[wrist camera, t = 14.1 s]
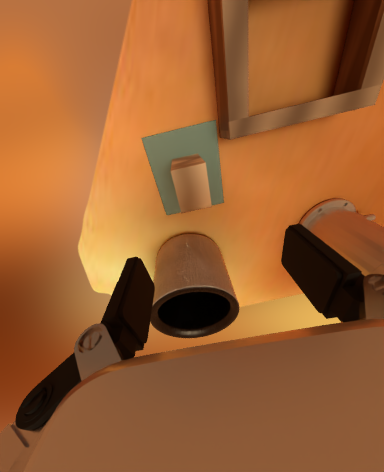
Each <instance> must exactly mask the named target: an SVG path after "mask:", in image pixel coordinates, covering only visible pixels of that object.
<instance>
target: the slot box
mask: <svg viewBox="0 0 384 472" xmlns="http://www.w3.org/2000/svg"><path fill="white" fill-rule="evenodd" d="M208 9H209V20H210V31H211V43H212V54H213V65H214V76H215V87H216V98H217V110H218V121H219V132H220V138H225V139H235V138H239V137H243V136H247V135H251V134H255V133H260V132H264V131H268V130H272V129H276V128H280V127H285V126H289V125H293V124H297V123H301V122H305V121H310V120H314V119H318V118H322V117H326V116H330V115H334V114H339V113H343V112H347V111H351V110H355V109H359V108H364V107H368V106H372V105H375V103H376V100H377V97H378V94H379V91H380V88H381V85H382V83H383V80H384V0H355V1H354V5H353V10H352V14H351V19H350V23H349V28H348V32H347V37H346V41H345V46H344V50H343V54H342V59H341V63H340V68H339V72H338V77H337V81H336V86H335V90H334V95H333V96H331V97H327V98H323V99H319V100H315V101H311V102H307V103H303V104H299V105H295V106H291V107H287V108H283V109H278V110H274V111H270V112H266V113H262V114H258V115H254V116H250V117H249V110H248V0H208Z"/></svg>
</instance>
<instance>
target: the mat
mask: <svg viewBox="0 0 384 472" xmlns="http://www.w3.org/2000/svg"><path fill="white" fill-rule="evenodd" d="M142 141H143V144H144V147H145V150H146V153H147V157H148V160H149V163H150V166H151V169H152V172H153V175H154V178H155V181H156V184H157V187H158V190H159V193H160V196H161V199H162V202H163V206H164V209H165V212H166V215H171V214H176V213H180V212H181V210H180V206H179V202H178V198H177V194H176V190H175V186H174V182H173V178H172V175H171V163H172V159H176V158H180V157H184V156H189V155H193V154H197V153H198V154H199V156H200V157H201V158H202V159H203V160H204V161H205V162H206V168H207V176H208V183H209V190H210V198H211V205H216V204H220V203H224V200H223V189H222V179H221V169H220V159H219V148H218V138H217V128H216V120H213V121H209V122H205V123H201V124H197V125H193V126H189V127H185V128H181V129H177V130H173V131H169V132H165V133H161V134H156V135H152V136H148V137H144V138H142Z"/></svg>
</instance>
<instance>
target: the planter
mask: <svg viewBox="0 0 384 472" xmlns="http://www.w3.org/2000/svg"><path fill="white" fill-rule="evenodd" d="M153 283H154V286H155V293H154V299H153V306H152V312H151V319H150V322H151V324H152V325H153V326H154V327H155V328H156V329H157V330H158V331H160V332H162V333H164V334H166V335H169V336H173V337H179V338H197V337H203V336H208V335H211V334H214V333H217V332H219V331H221V330H223V329H225V328H226V327H227V326H229V325H230V324H231V323H232V322H233V321H234V320H235V319H236V317H237V315H238V313H239V303H238V300H237V298H236V295H235V292H234V289H233V286H232V283H231V280H230V277H229V275H228V272H227V269H226V266H225V263H224V260H223V257H222V254H221V251H220V249H219V247H218V246H217V245H216V243H215V242H214V241H212V240H211V239H209V238H208V237H205V236H202V235H198V234H184V235H179V236H176V237H174V238H172V239H170V240H168V241H167V242H166V243H165V244H164V245H163V246H162V247H161V248H160V250H159V252H158V255H157V258H156V266H155V274H154V282H153Z"/></svg>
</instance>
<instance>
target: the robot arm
mask: <svg viewBox="0 0 384 472" xmlns="http://www.w3.org/2000/svg"><path fill="white" fill-rule="evenodd" d="M374 219H375V215H374V214H369V215H365V216H363V215H361V214H359V213H357V212H356V209H355V206H354V205H353V204H352V203H351V202H349V201H347V200H345V199H340V198H338V199H330V200H327V201H324V202H322V203H320V204H318V205H316V206H315V207H313V208H312V209H311V210H310V211H309V212H307V213H306V215H305V216H304V217H303V218H302V220H301V221H300V223H299V224H295V225H290V226H289V227H288V228H287V229H286V231H285V238H284V245H283V252H282V259H281V262H282V265H283V266H284V268H285V269H286V270H287V272H288V273H289V274H290V276H291V277H292V278H293V280H294V281H295V282H296V284H297V285H298V286H299V287H300V289H301V290H302V291H303V293H304V294H305V295H306V297H307V298H308V299H309V300H310V302H311V303H312V305H313V306H314V307H315V308H316V310H317V311H318V312H319V313H322V314H323V315H324V316H325V317H326V319H328V318H334V317H338V319H339V320H340V321H341V323H336V324H329V325H322V326H316V327H310V328H303V329H298V330H291V331H285V332H279V333H273V334H267V335H260V336H255V337H248V338H242V339H237V340H230V341H225V342H218V343H212V344H207V345H201V346H195V347H190V348H183V349H177V350H172V351H166V352H161V353H156V354H150V355H146V356H140V357H135V358H134V356H135V351H139V350H143V348H144V343H146V342H147V338H148V332H149V325H150V319H151V312H152V306H153V299H154V293H155V286H154V283H153V281H152V279H151V277H150V275H149V273H148V271H147V269H146V268H145V266H144V264H143V262H142V260H141V259H140V258H138V257H133V258H128V259H127V261H126V263H125V266H124V268H123V271H122V273H121V276H120V278H119V281H118V282H117V284H116V286H115V289H114V291H113V294H112V296H111V299H110V302H109V304H108V306H107V308H106V311H105V313H104V316H103V318H102V321H101V323H100V324H94V325H92V326H90V327H89V328H87V329H86V330H85V331H84V332H83V333H82V334H81V335H80V336H79V338H78V340H77V341H76V343H75V347H74V353H73V354H72V355H71V356H70V357H68V358H67V359H66V360H65V361H64V362H63V363H62V364H60V365H59V366H58V367H57V368H56V369H55V370H54V371H53V372H51V373H50V374H49V375H48V376H47V377H46V378H45V379H44V380H42V381H41V382H40V383H39V384H38V385H37V386H36V387H35V388H34V389H33V390H32V391H31V392H30V393H29V394H28V395H27V396H26V398H25V399H24V400H23V402H22V404H21V406H20V407H19V410H18V412H17V415H16V421H15V422H14V423H13V424H8V425H7V426H6V427H5V429H4V430H3V431H2V432H1V433H0V472H384V227H382V226H380V225H378V224H377V223H375V222H372V221H371V220H374Z"/></svg>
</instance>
